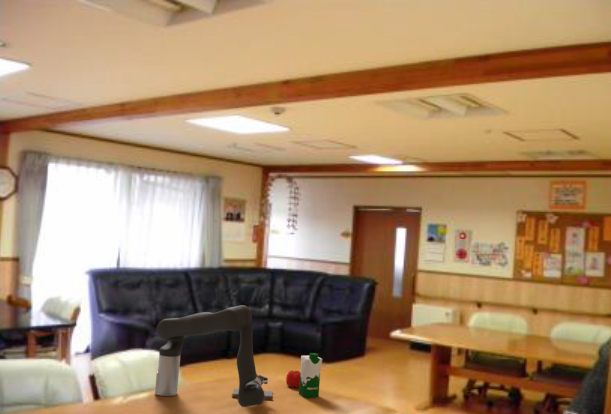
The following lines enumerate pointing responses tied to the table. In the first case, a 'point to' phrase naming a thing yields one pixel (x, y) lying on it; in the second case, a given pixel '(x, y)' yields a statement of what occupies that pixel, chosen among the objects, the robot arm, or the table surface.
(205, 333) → the robot arm
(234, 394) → the rail
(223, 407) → the table surface
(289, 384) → the tomato
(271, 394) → the mat
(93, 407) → the table surface
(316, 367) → the milk carton
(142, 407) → the table surface
